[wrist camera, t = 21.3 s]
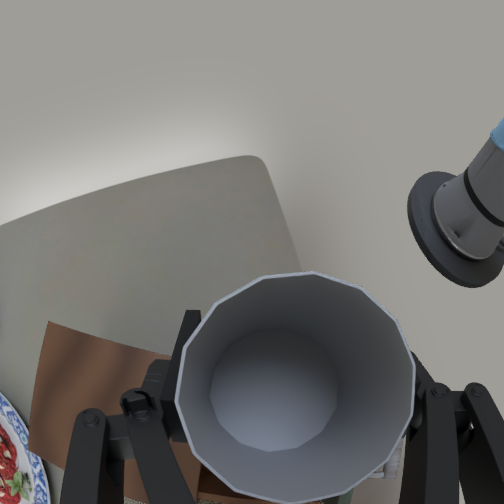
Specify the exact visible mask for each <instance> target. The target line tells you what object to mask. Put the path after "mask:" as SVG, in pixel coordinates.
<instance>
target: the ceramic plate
mask: <svg viewBox="0 0 504 504" xmlns="http://www.w3.org/2000/svg"><path fill="white" fill-rule="evenodd" d="M28 435H29V431H28V429H27V427H26V425H25V424H24V422H23V420H22V419H21V417H20V416H19V414H18V413H17V411H16V410H15V408H14V407H13V406H12V404H11V403H10V402H9V401H8V400H7V398H6V397H5V396H4V395H3V394H2V393H1V392H0V504H50V503H51V502H50V491H49V485H48V481H47V476H46V473H45V470H44V466H43V463H42V460H41V458H40V457H39V456H37V455H35V454H34V453H32V452H30V451H29V450H28Z"/></svg>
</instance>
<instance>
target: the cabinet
mask: <svg viewBox="0 0 504 504" xmlns="http://www.w3.org/2000/svg"><path fill="white" fill-rule="evenodd" d="M171 358H172V356H167V355H163V354H159V353H154V352H150V351H146V350H142V349H138V348H134V347H130V346H127V345H123V344H119V343H116V342H112V341H109V340H105V339H102V338H98V337H95V336H92V335H89V334H85V333H82V332H79V331H76V330H73V329H70V328H67V327H64V326H61V325H58V324H55V323H53V322H50V321H48V325H47V328H46V332H45V336H44V341H43V345H42V349H41V354H40V359H39V364H38V369H37V374H36V380H35V386H34V392H33V399H32V406H31V414H30V424H29V435H28V450H29V451H30V452H32V453H34V454H35V455H37V456H39V457H40V458H42V459H44V460H46V461H47V462H49V463H51V464H53V465H55V466H57V467H58V468H60V469H62V470H64V471H65V466H66V460H67V455H68V450H69V445H70V441H71V436H72V432H73V427H74V423H75V419H76V417H77V415H78V414H79V413H80V412H81V411H83V410H85V409H88V408H96V409H99V410H101V411H102V412H103V413H104V414H105V416H109V415H118V414H123V411H122V408H121V406H120V403H119V401H120V397H121V395H122V394H123V393H124V392H126V391H127V390H130V389H133V388H141V386H142V383H143V381H144V378H145V375H146V372H147V370H148V367H149V365H150V364H151V363H152V362H153V361H154V360H155V359H164V360H171ZM169 443H170V445H171V448H172V450H173V453H174V455H175V458H176V460H177V463H178V465H179V467H180V470H181V472H182V474H183V477H184V479H185V481H186V483H187V486H188V488H189V490H190V492H191V494H192V496H193V498H194V500H195V502H196V504H199V501H200V499H197V494H198V488H199V481H200V475H201V468H202V462H201V461H200V460H198V459H197V458H196V457H195V456H194V455H193V453H192V451H191V448H190V445H189V443H181V442H172V439H171V436H170V439H169ZM124 497H127V498H130V499H133V500H136V501H139V502H142V503H145V504H150V503H149V500H148V497H147V494H146V491H145V488H144V485H143V482H142V479H141V476H140V472H139V469H138V466H137V462H136V459H129V460H125V467H124Z"/></svg>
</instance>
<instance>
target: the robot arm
mask: <svg viewBox="0 0 504 504" xmlns="http://www.w3.org/2000/svg"><path fill="white" fill-rule="evenodd" d="M430 209H431V216H432V220H433V223H434V225H435V227H436V230H437V231H438V233H439V235H440V237H441V238H442V240H443V241H444V242H445V244H446V245H447V246H448V247H449V248H450V249H451V250H452V251H453V252H454V253H455V254H457V255H458V256H460V257H461V258H463V259H465V260H467V261H471V262H481V261H483V260H485V259H486V258H488V257H489V256H490V255H492V254H493V253H494V251H495V249H496V248H497V246H498V243H500V244H501V245H502V246H503V247H504V242H503V241H502V240H501V238H502V237H503V235H504V118H503V119H502V120H501V122H500V123H499V125H498V126H497V127H496V128H495V129H494V130H492V132H491V134H490V138H489V139H488V141H487V142H486V143H485V145H484V146H483V148H482V149H481V150H480V151H479V153H478V154H477V156H476V157H475V158H474V159H473V161H472V162H471V164H470V165H469V166H468V167H467V169H466V170H465V171H464V172H463V173H462V174H460V175H458V176H456V177H454V178H453V179H451V180H450V181H447V182H445V183H444V184H442V185H441V186H440V187H439V188H438V189H437V190H436V192H435V193H434V194H433V196H432V199H431V204H430ZM200 323H201V313H200V310H186V312H185V315H184V319H183V322H182V325H181V328H180V331H179V335H178V338H177V341H176V344H175V348H174V351H173V354H172V358H171V360H164V359H155V360H154V361H153V362H152V363H151V364H150V365H149V367H148V370H147V372H146V375H145V378H144V381H143V383H142V386H141V388H133V389H130V390H127V391H126V392H124V393H123V394H122V395H121V397H120V401H119V403H120V406H121V408H122V411H123V414H118V415H109V416H105V414H104V413H103V412H102V411H101V410H99V409H96V408H88V409H85V410H83V411H81V412H80V413H79V414H78V415H77V417H76V419H75V423H74V427H73V432H72V436H71V441H70V445H69V450H68V455H67V460H66V466H65V471H64V477H63V484H62V490H61V497H60V504H124V467H125V460H129V459H136V462H137V466H138V469H139V472H140V476H141V479H142V482H143V485H144V488H145V491H146V494H147V497H148V500H149V503H150V504H196V502H195V500H194V498H193V496H192V494H191V492H190V490H189V488H188V486H187V483H186V481H185V479H184V477H183V474H182V472H181V470H180V467H179V465H178V463H177V460H176V458H175V455H174V453H173V450H172V448H171V445H170V443H169V439H170V436H171V439H172V442H181V443H188V440H187V437H186V434H185V432H184V429H183V426H182V423H181V420H180V417H179V414H178V411H177V408H176V405H175V402H174V401H175V394H176V387H177V381H178V375H179V368H180V362H181V356H182V350H183V346H184V345H185V344H186V342H187V341H188V339H189V338H190V337H191V335H192V334H193V332H194V331H195V330H196V328H197V327H198V325H199V324H200ZM410 352H411V354H412V357H413V359H414V362H415V365H416V371H415V394H414V409H413V416H412V418H411V420H410V422H409V424H408V426H407V428H406V430H405V432H404V434H403V436H402V439H403V438H404V436H405V435H406V445H405V458H404V468H403V477H402V485H401V492H400V499H399V504H459V480H460V483H461V488H462V492H463V495H464V500H465V504H504V420H503V418H502V416H501V414H500V412H499V410H498V408H497V407H496V405H495V403H494V401H493V399H492V397H491V395H490V394H489V392H488V390H487V389H486V388H485V386H483V385H482V384H479V383H470V384H468V385H467V386H466V388H465V390H464V391H451V390H450V389H449V388H448V387H447V386H446V385H444V384H442V383H435V382H434V380H433V379H432V377H431V376H430V375H429V373H428V372H427V370H426V369H425V368H424V366H422V363H421V362H420V361H418V358H417V357H416V355H415V354H414V353H413V352H412V351H410ZM471 424H472V425H473V427H474V428H473V429H472V427H471Z"/></svg>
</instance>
